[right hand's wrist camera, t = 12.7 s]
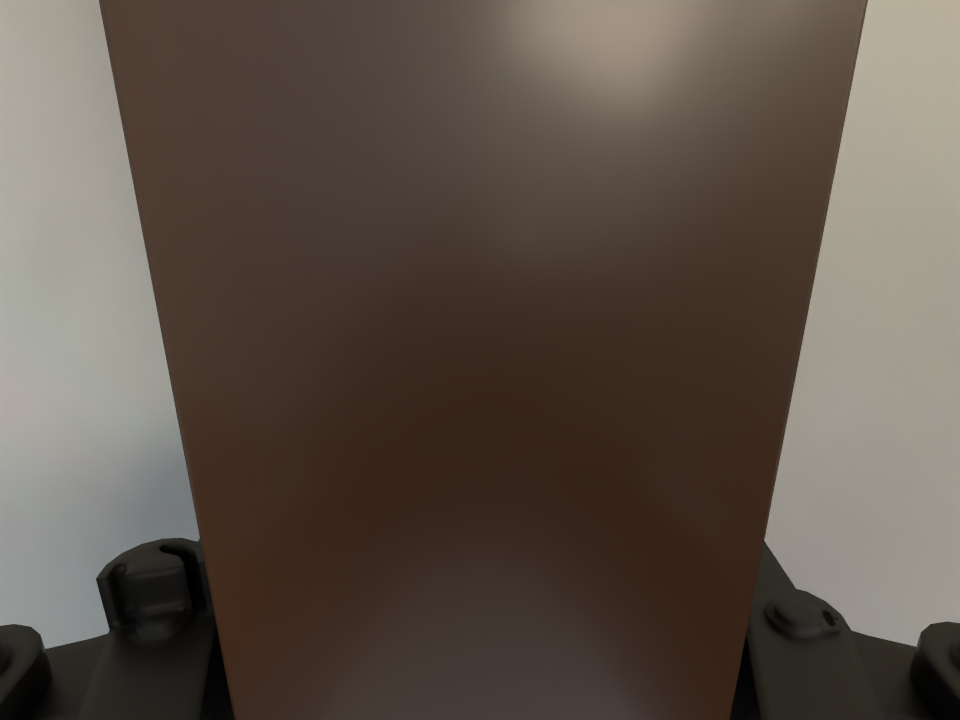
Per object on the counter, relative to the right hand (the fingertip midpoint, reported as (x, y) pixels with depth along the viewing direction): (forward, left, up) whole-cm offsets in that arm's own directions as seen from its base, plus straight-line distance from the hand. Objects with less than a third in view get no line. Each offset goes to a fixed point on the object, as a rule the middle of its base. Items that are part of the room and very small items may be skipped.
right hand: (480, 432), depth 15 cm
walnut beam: (0, -12, +1) cm, 12 cm away
